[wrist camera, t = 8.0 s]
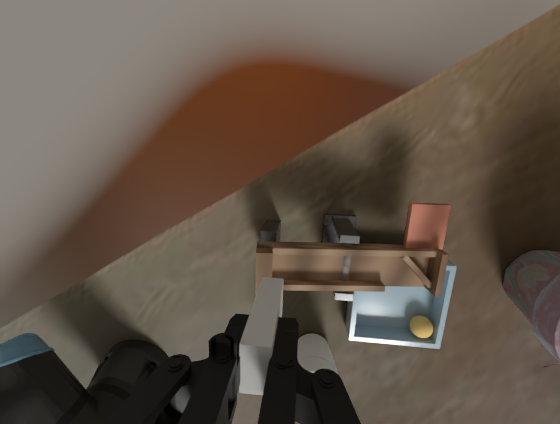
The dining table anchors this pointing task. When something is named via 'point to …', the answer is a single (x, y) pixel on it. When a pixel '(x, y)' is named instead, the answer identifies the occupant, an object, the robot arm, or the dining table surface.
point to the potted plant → (537, 294)
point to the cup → (314, 353)
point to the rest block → (270, 231)
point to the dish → (399, 313)
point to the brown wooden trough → (364, 259)
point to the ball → (421, 326)
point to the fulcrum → (340, 240)
